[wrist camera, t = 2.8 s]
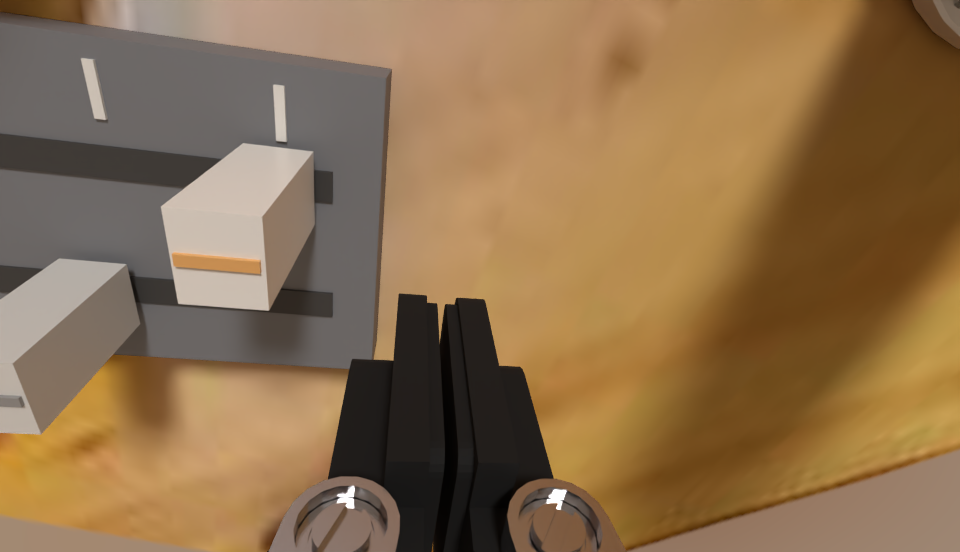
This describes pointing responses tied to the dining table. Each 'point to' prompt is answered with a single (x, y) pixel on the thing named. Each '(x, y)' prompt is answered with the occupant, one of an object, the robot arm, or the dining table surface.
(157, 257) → the console
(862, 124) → the dining table surface
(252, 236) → the fader
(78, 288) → the fader
